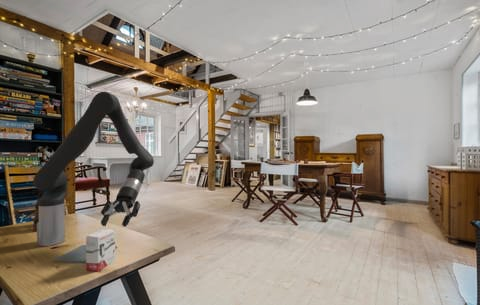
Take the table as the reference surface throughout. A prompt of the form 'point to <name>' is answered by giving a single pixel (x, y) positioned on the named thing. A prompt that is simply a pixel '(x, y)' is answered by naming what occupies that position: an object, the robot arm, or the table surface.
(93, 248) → the ink box
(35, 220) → the binoculars
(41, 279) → the table surface
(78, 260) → the charcoal mat
